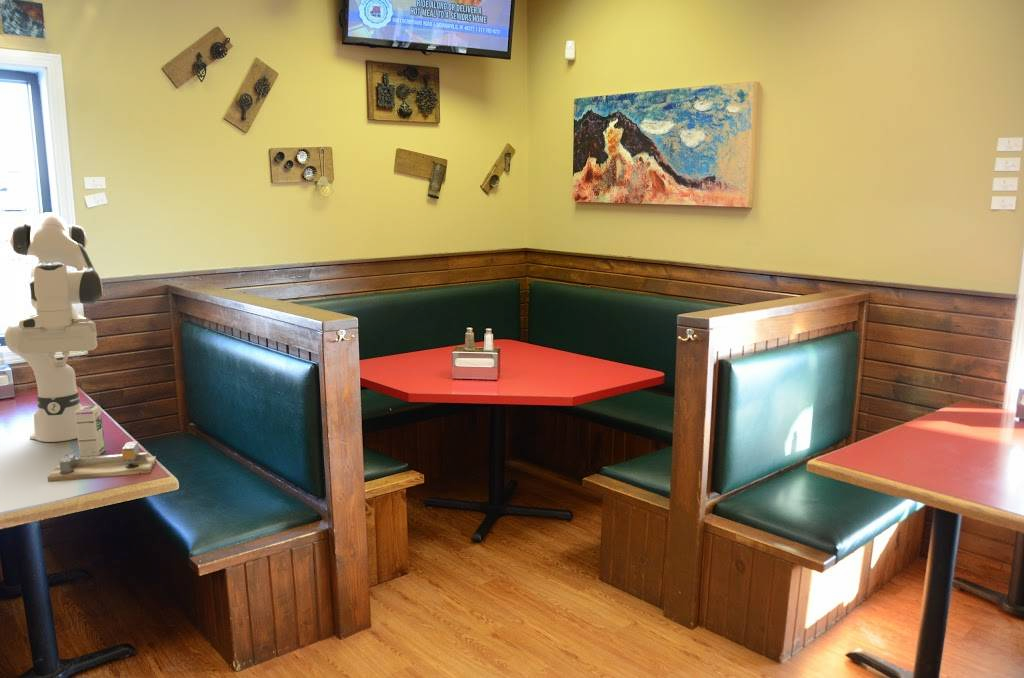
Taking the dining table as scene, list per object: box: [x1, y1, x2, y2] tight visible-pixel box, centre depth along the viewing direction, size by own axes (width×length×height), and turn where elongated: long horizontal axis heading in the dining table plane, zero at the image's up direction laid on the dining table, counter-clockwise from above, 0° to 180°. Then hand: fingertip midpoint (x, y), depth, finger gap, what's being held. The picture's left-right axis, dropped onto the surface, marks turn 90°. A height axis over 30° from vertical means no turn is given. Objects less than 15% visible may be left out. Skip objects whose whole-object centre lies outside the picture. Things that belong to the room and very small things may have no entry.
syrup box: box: [74, 404, 106, 457], centre depth 249 cm, size 6×6×14 cm
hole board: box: [47, 455, 157, 482], centre depth 235 cm, size 12×26×1 cm, turn 105°
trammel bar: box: [59, 451, 148, 474], centre depth 235 cm, size 8×22×3 cm, turn 105°
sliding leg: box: [121, 440, 140, 466], centre depth 236 cm, size 7×3×6 cm, turn 15°
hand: (60, 367), depth 236 cm, fingers closed
